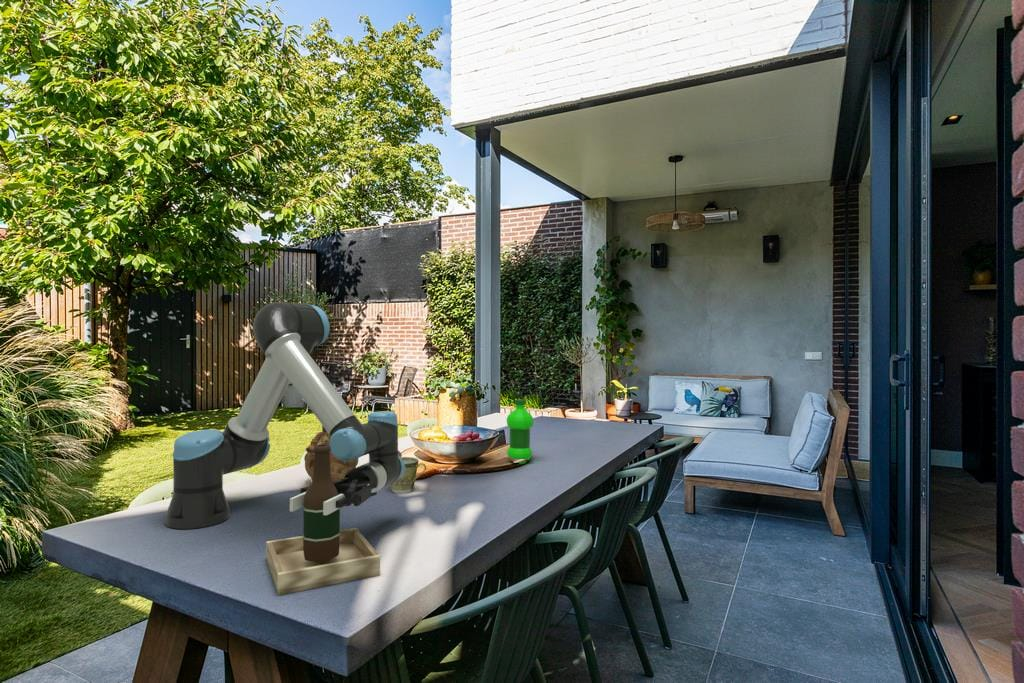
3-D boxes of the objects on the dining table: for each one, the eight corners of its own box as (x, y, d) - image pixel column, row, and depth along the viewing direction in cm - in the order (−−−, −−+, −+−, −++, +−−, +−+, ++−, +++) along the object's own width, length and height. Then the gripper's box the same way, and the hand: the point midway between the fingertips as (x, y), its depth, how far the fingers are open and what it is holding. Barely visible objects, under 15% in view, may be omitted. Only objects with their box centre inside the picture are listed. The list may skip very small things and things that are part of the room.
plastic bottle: (537, 463, 226) (538, 400, 226) (515, 466, 220) (515, 402, 220) (523, 458, 235) (524, 398, 234) (501, 461, 229) (502, 399, 229)
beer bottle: (344, 548, 128) (345, 442, 128) (334, 562, 120) (335, 449, 120) (308, 548, 128) (309, 441, 128) (296, 562, 120) (297, 448, 120)
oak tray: (278, 595, 111) (278, 574, 111) (266, 559, 128) (266, 541, 128) (379, 575, 120) (380, 556, 120) (356, 544, 138) (356, 527, 138)
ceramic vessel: (284, 492, 181) (285, 414, 181) (325, 473, 206) (326, 404, 206) (335, 496, 178) (335, 416, 178) (370, 476, 203) (370, 405, 203)
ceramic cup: (381, 493, 181) (381, 462, 181) (395, 485, 191) (395, 455, 191) (419, 497, 178) (419, 465, 178) (431, 488, 188) (431, 458, 188)
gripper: (402, 499, 139) (350, 529, 117) (328, 492, 144) (266, 519, 122) (402, 468, 139) (351, 493, 116) (329, 462, 144) (266, 484, 122)
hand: (308, 506), depth 119 cm, fingers closed on beer bottle, 7 cm apart
